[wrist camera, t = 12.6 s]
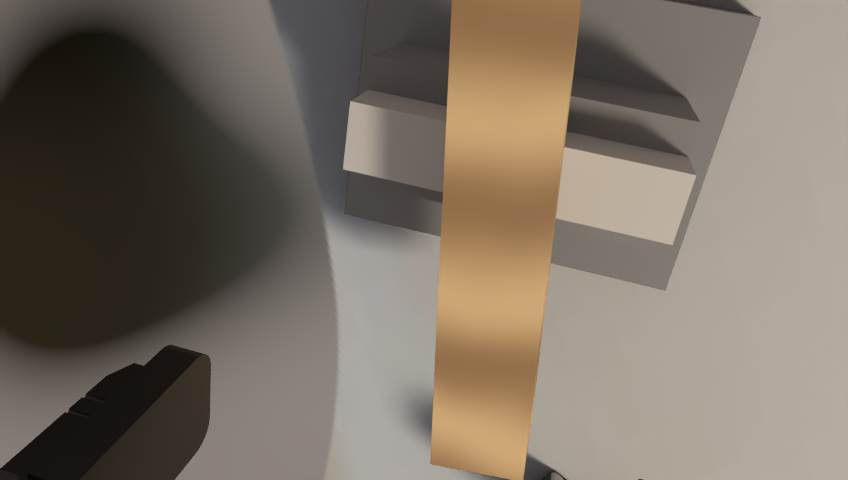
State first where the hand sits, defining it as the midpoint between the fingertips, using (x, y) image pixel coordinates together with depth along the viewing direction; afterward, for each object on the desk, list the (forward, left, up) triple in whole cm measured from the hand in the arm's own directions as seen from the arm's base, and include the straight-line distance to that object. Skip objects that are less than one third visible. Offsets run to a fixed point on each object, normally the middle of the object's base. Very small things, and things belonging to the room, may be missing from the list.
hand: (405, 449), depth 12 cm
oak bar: (0, 0, -17) cm, 17 cm away
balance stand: (0, 0, -26) cm, 26 cm away
